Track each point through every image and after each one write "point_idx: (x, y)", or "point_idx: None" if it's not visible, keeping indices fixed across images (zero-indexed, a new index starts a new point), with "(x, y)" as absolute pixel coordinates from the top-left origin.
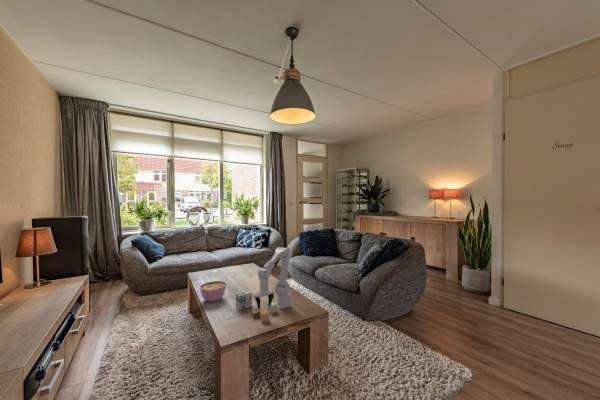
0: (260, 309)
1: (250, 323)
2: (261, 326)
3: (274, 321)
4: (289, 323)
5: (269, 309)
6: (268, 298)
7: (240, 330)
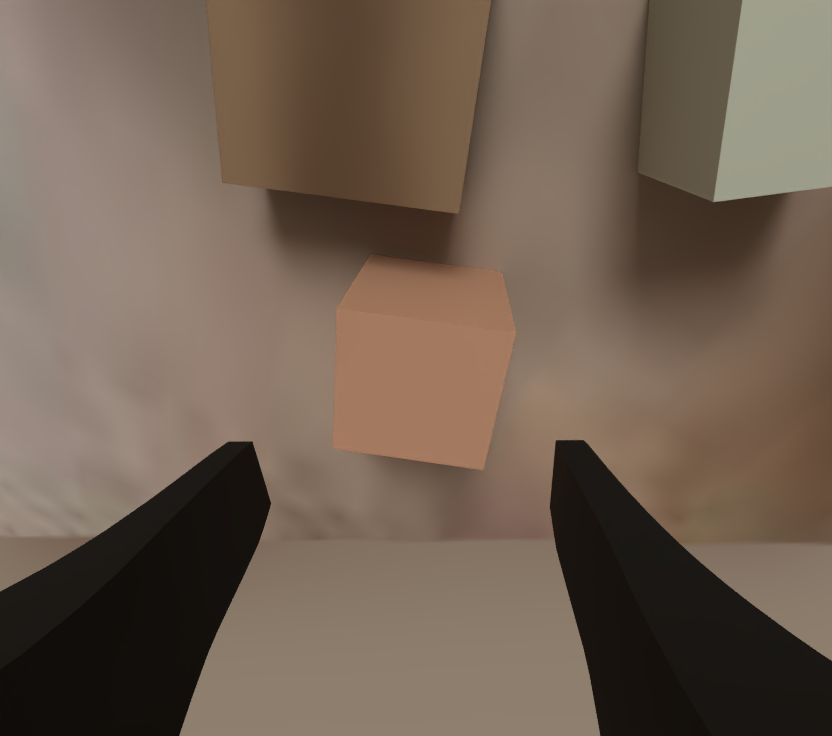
0: (431, 38)
1: (199, 312)
2: None
3: (541, 429)
4: None
5: (670, 84)
6: (627, 601)
7: (69, 404)
